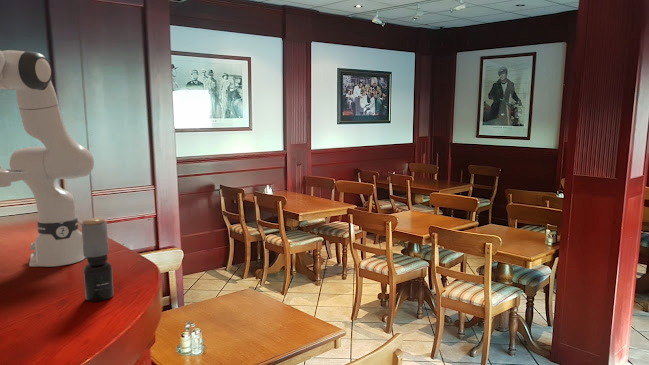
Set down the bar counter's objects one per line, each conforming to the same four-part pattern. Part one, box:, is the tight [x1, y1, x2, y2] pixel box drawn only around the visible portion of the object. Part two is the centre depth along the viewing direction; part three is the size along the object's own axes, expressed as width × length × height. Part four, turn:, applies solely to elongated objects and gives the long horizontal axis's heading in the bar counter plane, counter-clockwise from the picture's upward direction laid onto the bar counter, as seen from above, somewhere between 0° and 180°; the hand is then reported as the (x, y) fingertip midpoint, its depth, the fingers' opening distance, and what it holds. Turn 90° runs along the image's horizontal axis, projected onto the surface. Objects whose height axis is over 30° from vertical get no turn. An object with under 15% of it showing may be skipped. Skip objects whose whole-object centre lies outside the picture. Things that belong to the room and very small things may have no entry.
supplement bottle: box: [83, 254, 114, 303], centre depth 128 cm, size 7×7×12 cm
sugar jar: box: [80, 217, 110, 258], centre depth 127 cm, size 6×6×9 cm
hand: (27, 173), depth 121 cm, fingers open, 8 cm apart
